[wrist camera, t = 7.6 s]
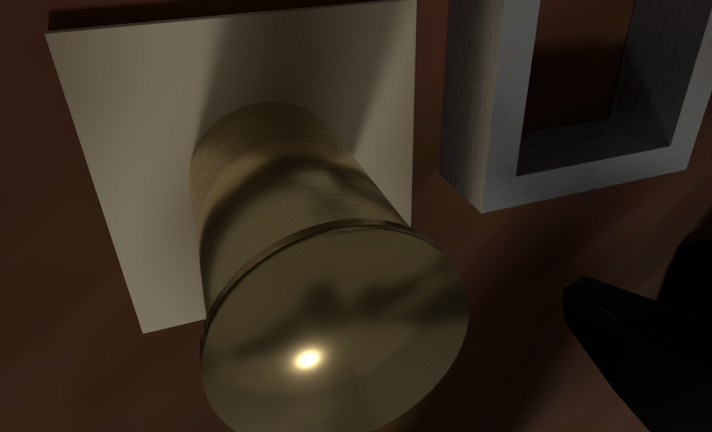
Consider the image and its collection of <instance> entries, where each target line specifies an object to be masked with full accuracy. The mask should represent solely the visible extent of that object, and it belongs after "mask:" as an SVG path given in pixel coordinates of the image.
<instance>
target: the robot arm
mask: <svg viewBox="0 0 712 432" xmlns="http://www.w3.org/2000/svg"><path fill="white" fill-rule="evenodd" d="M563 315H564V319H565V321H566V323H567V325H568V327H569V328H570V329H571V331H572V332H573V334H574V335H575V336H576V338H577V339H578V341H579V342H580V343H581V345H582V346H583V348H584V349H585V351H586V352H587V353H588V355H589V356H590V358H591V359H592V360H593V362H594V363H595V365H596V366H597V367H598V369H599V370H600V372H601V373H602V375H603V376H604V377H605V379H606V380H607V381H608V383H609V384H610V385H611V387H612V388H613V389H614V391H615V392H616V393H617V394H618V396H619V397H620V398H621V399H622V400H623V401H624V403H625V404H626V405H627V406H628V407H629V408H630V409H631V411H632V412H633V413H634V414H635V415H636V416H637V417H638V419H639V420H640V421H641V422H642V423H643V424H644V425H645V427H646V428H647V429H648V430H649V431H650V432H712V240H709V241H706V242H702V243H698V244H694V245H690V246H687V247H685V248H683V249H682V250H681V251H680V252H679V254H678V256H677V258H676V261H675V264H674V267H673V270H672V273H671V275H670V278H669V281H668V284H667V287H666V290H665V293H664V295H663V298H662V301H661V302H658V301H655V300H653V299H650V298H647V297H644V296H641V295H638V294H636V293H633V292H630V291H627V290H624V289H621V288H619V287H616V286H613V285H610V284H607V283H604V282H602V281H599V280H596V279H593V278H590V277H585V276H584V277H580V278H577V279H575V280H572V281H570V282H568V283H566V285H565V286H564V298H563Z"/></svg>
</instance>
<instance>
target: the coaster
mask: <svg viewBox="0 0 712 432" xmlns="http://www.w3.org/2000/svg"><path fill="white" fill-rule="evenodd" d="M416 7H417V0H382V1H371V2H360V3H349V4H338V5H327V6H316V7H305V8H294V9H283V10H272V11H261V12H250V13H238V14H227V15H216V16H205V17H194V18H183V19H172V20H161V21H150V22H139V23H128V24H117V25H106V26H95V27H84V28H73V29H62V30H51V31H47V32H46V33H45V36H46V39H47V42H48V45H49V49H50V52H51V55H52V58H53V61H54V64H55V67H56V70H57V73H58V76H59V79H60V82H61V85H62V88H63V91H64V94H65V97H66V100H67V103H68V106H69V109H70V112H71V116H72V119H73V122H74V125H75V128H76V131H77V134H78V137H79V140H80V143H81V146H82V149H83V152H84V155H85V158H86V161H87V164H88V167H89V170H90V173H91V176H92V180H93V183H94V186H95V189H96V192H97V195H98V198H99V201H100V204H101V207H102V210H103V213H104V216H105V219H106V222H107V225H108V228H109V231H110V234H111V237H112V240H113V243H114V247H115V250H116V253H117V256H118V259H119V262H120V265H121V268H122V271H123V274H124V277H125V280H126V283H127V286H128V289H129V292H130V295H131V298H132V301H133V304H134V307H135V311H136V314H137V317H138V320H139V323H140V326H141V329H142V332H143V333H148V332H152V331H156V330H160V329H165V328H169V327H173V326H177V325H182V324H186V323H190V322H194V321H198V320H203V319H206V311H205V303H204V296H203V288H202V280H201V272H200V264H199V256H198V249H197V241H196V233H195V225H194V217H193V209H192V201H191V194H190V186H189V171H190V164H191V161H192V157H193V154H194V152H195V150H196V148H197V146H198V144H199V142H200V141H201V139H202V138H203V136H204V135H205V134H206V132H207V131H208V130H209V129H210V128H211V127H212V126H213V125H214V124H215V123H216V122H218V121H219V120H220V119H221V118H223V117H224V116H226V115H228V114H229V113H231V112H233V111H235V110H237V109H239V108H242V107H245V106H248V105H252V104H257V103H264V102H281V103H288V104H293V105H296V106H299V107H302V108H304V109H306V110H308V111H310V112H312V113H314V114H315V115H317V116H318V117H320V118H321V119H322V120H323V121H324V122H325V123H327V124H328V126H329V127H330V128H331V129H332V130H333V132H334V133H335V134H336V135H337V137H338V138H339V139H340V140H341V142H342V143H343V144H344V145H345V147H346V148H347V149H348V150H349V152H350V153H351V154H352V155H353V157H354V158H355V159H356V160H357V162H358V163H359V164H360V165H361V167H362V168H363V169H364V170H365V172H366V173H367V174H368V175H369V177H370V178H371V179H372V180H373V182H374V183H375V184H376V185H377V187H378V188H379V189H380V190H381V192H382V193H383V194H384V195H385V197H386V198H387V199H388V200H389V202H390V203H391V204H392V205H393V207H394V208H395V209H396V210H397V212H398V213H399V214H400V215H401V217H402V218H403V219H404V220H405V222H406V223H407V224H408V225H409V227H410V228H411V199H412V161H413V122H414V84H415V45H416Z"/></svg>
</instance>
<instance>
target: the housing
mask: <svg viewBox="0 0 712 432" xmlns="http://www.w3.org/2000/svg"><path fill="white" fill-rule="evenodd" d="M539 5H540V0H450V3H449V21H448V39H447V56H446V74H445V92H444V109H443V127H442V145H441V162H440V175H441V176H442V177H443V178H444V179H445V180H446V181H447V182H448V183H450V184H451V185H452V186H453V187H454V188H455V189H456V190H457V191H458V192H459V193H460V194H461V195H462V196H464V197H465V198H466V199H467V200H468V201H469V202H470V203H471V204H472V205H473V206H474V207H475V208H476V209H478V210H479V211H480V212H481V213H485V212H490V211H494V210H499V209H504V208H508V207H513V206H518V205H522V204H527V203H532V202H536V201H541V200H546V199H550V198H555V197H560V196H564V195H569V194H574V193H578V192H583V191H588V190H592V189H597V188H602V187H607V186H611V185H616V184H621V183H625V182H630V181H635V180H639V179H644V178H649V177H653V176H658V175H663V174H667V173H672V172H677V171H681V170H686V168H687V165H688V162H689V159H690V156H691V152H692V149H693V146H694V143H695V140H696V137H697V134H698V131H699V128H700V125H701V122H702V119H703V116H704V113H705V110H706V106H707V103H708V100H709V97H710V94H711V91H712V0H636V2H635V6H634V10H633V15H632V19H631V23H630V28H629V32H628V37H627V41H626V45H625V50H624V54H623V58H622V63H621V67H620V72H619V76H618V80H617V85H616V89H615V93H614V98H613V102H612V107H611V111H610V115H609V118H606V119H600V120H594V121H589V122H583V123H577V124H571V125H566V126H560V127H554V128H548V129H543V130H537V131H531V132H525V133H522V127H523V119H524V112H525V105H526V98H527V91H528V84H529V77H530V70H531V62H532V55H533V48H534V41H535V34H536V27H537V20H538V12H539Z"/></svg>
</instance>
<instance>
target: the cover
mask: <svg viewBox="0 0 712 432" xmlns="http://www.w3.org/2000/svg"><path fill="white" fill-rule="evenodd" d="M189 186H190V194H191V201H192V209H193V217H194V225H195V233H196V241H197V249H198V256H199V264H200V272H201V280H202V288H203V296H204V303H205V311H206V320H205V323H204V325H203V330H202V335H201V340H200V362H201V371H202V379H203V385H204V390H205V393H206V395H207V398H208V401H209V403H210V404H211V406H212V408H213V409H214V411H215V413H216V414H217V415H218V416H219V417H220V418H221V419H222V420H223V421H224V423H226V424H227V425H228V426H230V427H231V428H232V429H233V430H235V431H236V432H370V431H373V430H375V429H377V428H379V427H381V426H383V425H385V424H387V423H389V422H390V421H392V420H394V419H396V418H397V417H399V416H400V415H402V414H403V413H405V412H406V411H408V410H409V409H410V408H411V407H413V406H414V405H415V404H417V403H418V402H419V401H420V400H421V399H422V398H424V397H425V396H426V395H427V394H428V393H429V392H430V391H431V390H432V389H433V388H434V387H435V386H436V385H437V383H438V382H439V381H440V380H441V379H442V377H443V376H444V375H445V373H446V372H447V371H448V370H449V368H450V366H451V365H452V363H453V361H454V360H455V358H456V357H457V354H458V352H459V350H460V348H461V346H462V344H463V340H464V337H465V334H466V331H467V326H468V320H469V301H468V293H467V290H466V287H465V284H464V281H463V279H462V277H461V275H460V274H459V272H458V270H457V269H456V268H455V266H454V265H453V264H452V263H451V261H450V260H449V259H448V258H447V257H446V255H445V254H444V253H443V252H442V251H441V249H440V248H439V247H438V246H437V245H436V244H435V243H434V242H432V241H431V240H430V239H429V238H428V237H426V236H425V235H423V234H421V233H420V232H418V231H416V230H415V229H412V228H410V227H409V225H408V224H407V223H406V222H405V220H404V219H403V218H402V217H401V215H400V214H399V213H398V212H397V210H396V209H395V208H394V207H393V205H392V204H391V203H390V202H389V200H388V199H387V198H386V197H385V195H384V194H383V193H382V192H381V190H380V189H379V188H378V187H377V185H376V184H375V183H374V182H373V180H372V179H371V178H370V177H369V175H368V174H367V173H366V172H365V170H364V169H363V168H362V167H361V165H360V164H359V163H358V162H357V160H356V159H355V158H354V157H353V155H352V154H351V153H350V152H349V150H348V149H347V148H346V147H345V145H344V144H343V143H342V142H341V140H340V139H339V138H338V137H337V135H336V134H335V133H334V132H333V130H332V129H331V128H330V127H329V126H328V124H327V123H325V122H324V121H323V120H322V119H321V118H320V117H318V116H317V115H315V114H314V113H312V112H310V111H308V110H306V109H304V108H302V107H299V106H296V105H293V104H288V103H281V102H264V103H257V104H252V105H248V106H245V107H242V108H239V109H237V110H235V111H233V112H231V113H229V114H228V115H226V116H224V117H223V118H221V119H220V120H219V121H218V122H216V123H215V124H214V125H213V126H212V127H211V128H210V129H209V130H208V131H207V132H206V134H205V135H204V136H203V138H202V139H201V141H200V142H199V144H198V146H197V148H196V150H195V152H194V154H193V157H192V161H191V164H190V171H189Z"/></svg>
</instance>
